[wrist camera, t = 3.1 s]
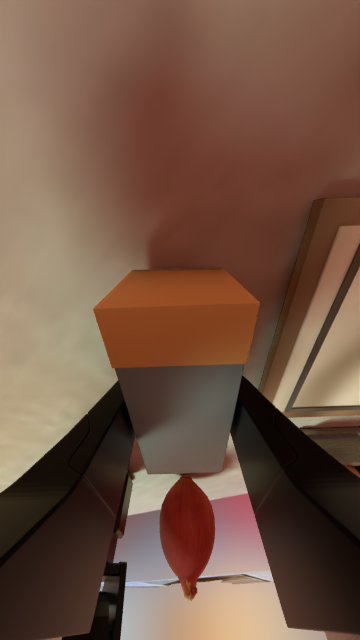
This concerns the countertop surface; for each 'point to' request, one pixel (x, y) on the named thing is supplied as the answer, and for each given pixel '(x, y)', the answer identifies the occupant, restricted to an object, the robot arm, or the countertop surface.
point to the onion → (187, 532)
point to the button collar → (339, 443)
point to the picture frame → (320, 319)
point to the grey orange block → (179, 361)
